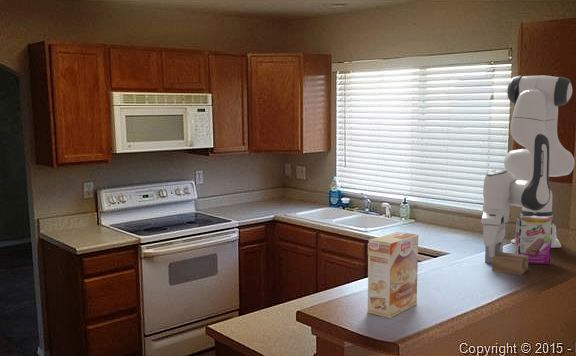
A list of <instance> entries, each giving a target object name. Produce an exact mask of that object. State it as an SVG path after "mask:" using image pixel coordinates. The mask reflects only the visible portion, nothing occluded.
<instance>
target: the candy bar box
mask: <svg viewBox="0 0 576 356" xmlns="http://www.w3.org/2000/svg"><path fill="white" fill-rule="evenodd" d="M553 220H554V218H553V219H552V218H550V217H540V216H521V215H517V216H516V220H515V222H516V223H515V237H516V239H515V238H514V239H515V243H514V254H519V255H526V256H528V265H529V264H531V265H535V264H536V265H550V264H551V254H552V253H551V252H552V248H551V239H552V223H553ZM553 224H554V223H553Z"/></svg>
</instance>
